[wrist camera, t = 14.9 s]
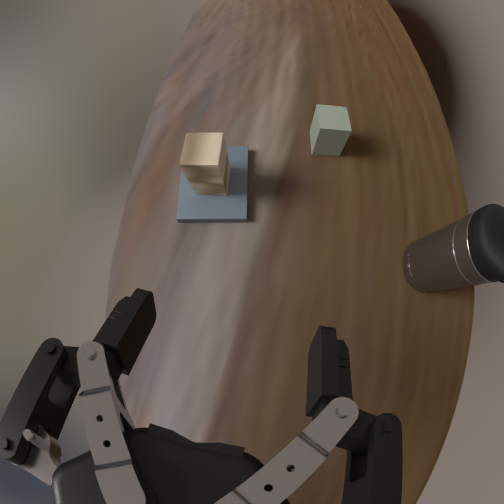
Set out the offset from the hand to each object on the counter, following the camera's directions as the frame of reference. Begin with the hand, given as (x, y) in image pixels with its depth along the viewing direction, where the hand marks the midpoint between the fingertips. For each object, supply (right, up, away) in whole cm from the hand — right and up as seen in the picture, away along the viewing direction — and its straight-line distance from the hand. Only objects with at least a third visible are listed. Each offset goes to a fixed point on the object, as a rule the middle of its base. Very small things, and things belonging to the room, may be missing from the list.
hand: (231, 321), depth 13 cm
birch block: (-5, +15, +31) cm, 34 cm away
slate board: (-5, +14, +32) cm, 36 cm away
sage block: (+14, +23, +33) cm, 43 cm away
